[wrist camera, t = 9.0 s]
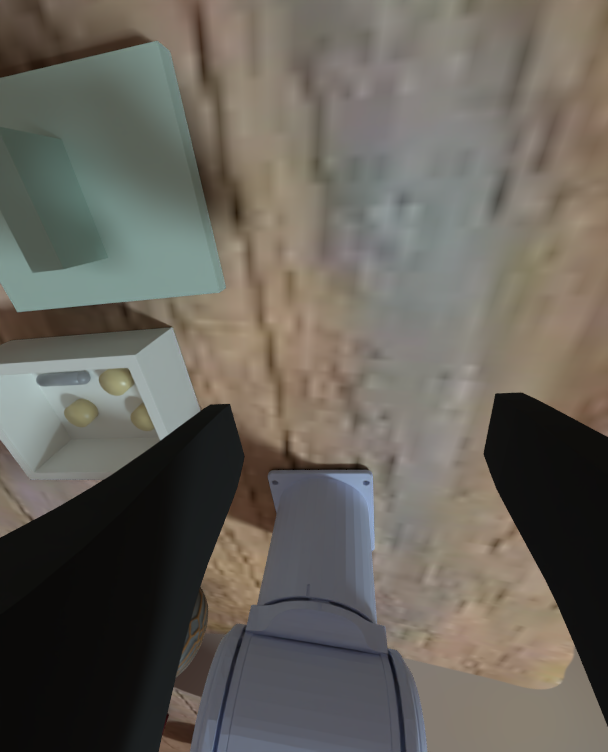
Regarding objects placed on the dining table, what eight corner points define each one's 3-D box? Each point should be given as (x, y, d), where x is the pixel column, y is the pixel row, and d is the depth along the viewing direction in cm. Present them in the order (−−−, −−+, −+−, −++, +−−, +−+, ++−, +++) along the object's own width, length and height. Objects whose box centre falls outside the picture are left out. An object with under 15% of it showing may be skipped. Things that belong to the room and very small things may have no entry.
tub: (210, 439, 24) (187, 479, 20) (72, 442, 26) (30, 479, 22) (172, 327, 20) (135, 354, 16) (10, 340, 22) (-54, 367, 18)
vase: (204, 612, 38) (169, 715, 30) (150, 591, 37) (100, 693, 29) (225, 589, 35) (192, 698, 27) (167, 565, 34) (115, 671, 26)
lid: (229, 285, 18) (196, 310, 14) (40, 304, 20) (-36, 330, 16) (176, 56, 13) (105, -3, 9) (-63, 111, 15) (-205, 80, 11)
